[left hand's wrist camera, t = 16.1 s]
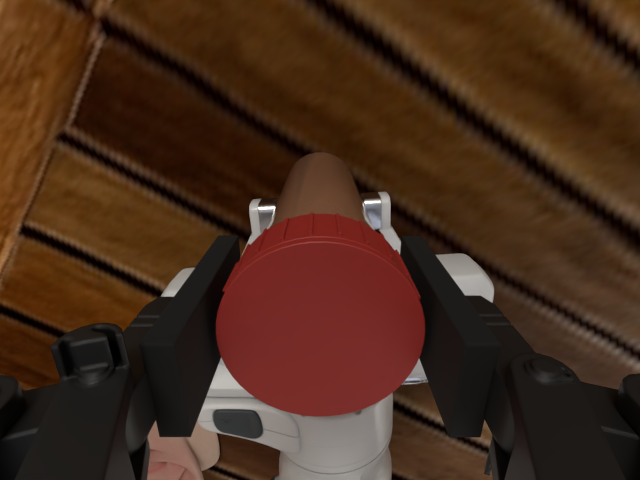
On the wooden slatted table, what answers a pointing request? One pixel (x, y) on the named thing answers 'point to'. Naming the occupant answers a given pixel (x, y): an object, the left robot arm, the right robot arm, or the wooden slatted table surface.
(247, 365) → the lid
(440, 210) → the wooden slatted table surface
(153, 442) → the anatomical model
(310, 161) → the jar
